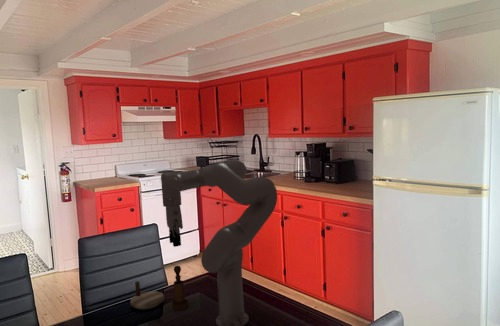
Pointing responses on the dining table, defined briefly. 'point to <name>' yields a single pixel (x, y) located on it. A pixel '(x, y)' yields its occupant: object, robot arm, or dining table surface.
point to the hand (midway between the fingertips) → (175, 243)
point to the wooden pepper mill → (179, 292)
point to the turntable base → (147, 308)
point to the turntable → (146, 298)
